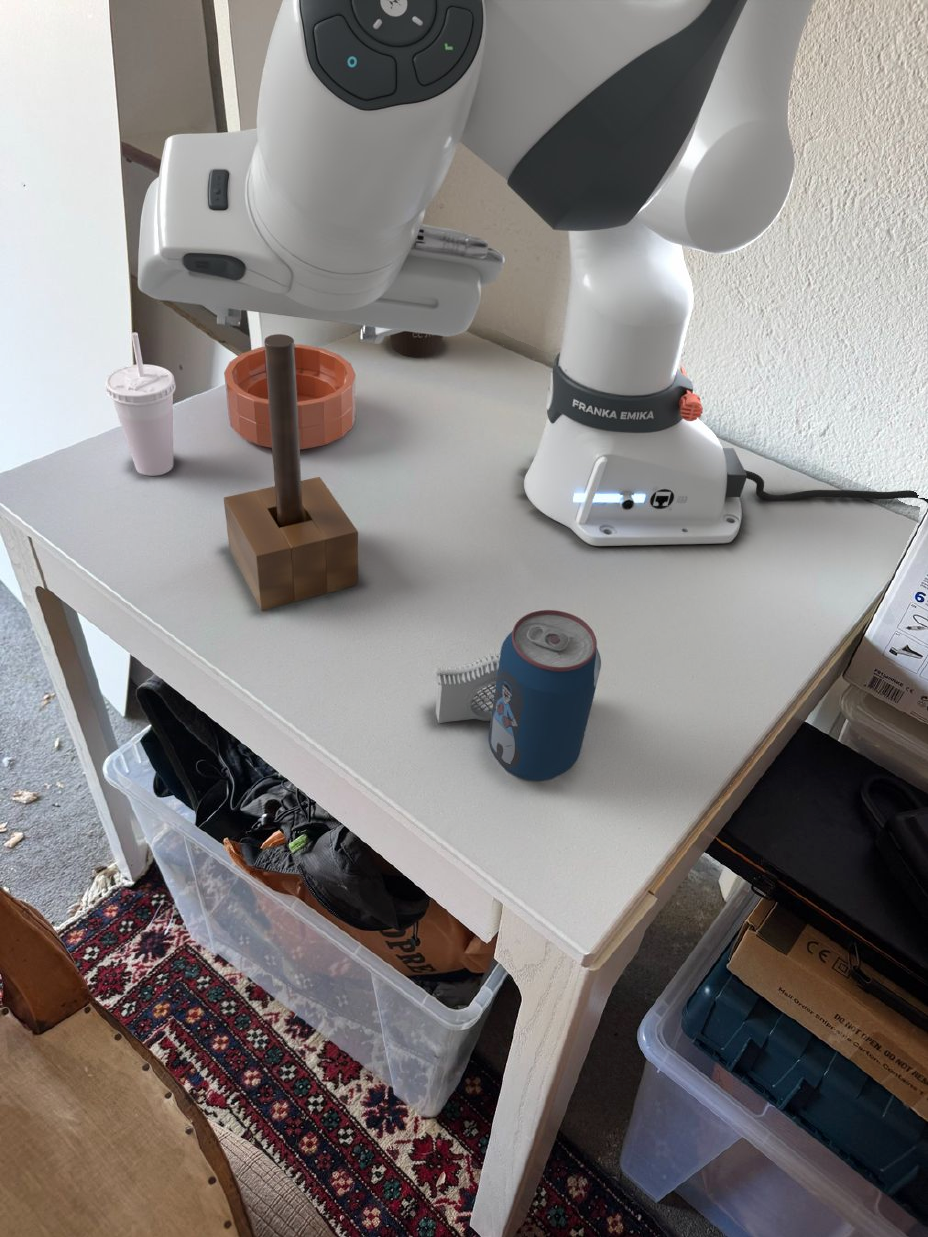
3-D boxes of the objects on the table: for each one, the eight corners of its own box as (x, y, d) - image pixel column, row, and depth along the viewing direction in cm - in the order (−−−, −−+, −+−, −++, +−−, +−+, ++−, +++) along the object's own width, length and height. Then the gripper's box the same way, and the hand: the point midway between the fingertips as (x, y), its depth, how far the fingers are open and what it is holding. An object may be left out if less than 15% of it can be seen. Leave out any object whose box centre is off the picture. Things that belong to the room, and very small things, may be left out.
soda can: (589, 738, 72) (619, 624, 64) (559, 803, 67) (587, 688, 59) (507, 706, 73) (525, 591, 65) (472, 767, 69) (487, 651, 61)
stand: (321, 529, 89) (319, 476, 85) (358, 584, 83) (358, 531, 79) (229, 551, 85) (223, 497, 81) (261, 611, 80) (256, 556, 76)
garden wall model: (576, 694, 75) (588, 642, 71) (582, 711, 74) (595, 658, 70) (430, 711, 72) (434, 657, 69) (435, 728, 71) (439, 674, 67)
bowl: (362, 398, 108) (363, 350, 104) (344, 462, 98) (343, 411, 94) (246, 386, 108) (242, 338, 104) (215, 449, 98) (209, 398, 94)
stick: (307, 561, 85) (296, 335, 70) (302, 576, 83) (290, 348, 69) (283, 559, 85) (267, 332, 70) (278, 574, 83) (261, 345, 69)
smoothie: (195, 452, 97) (178, 325, 87) (175, 486, 92) (154, 356, 83) (135, 445, 97) (111, 317, 88) (111, 479, 92) (83, 347, 83)
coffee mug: (387, 362, 115) (389, 283, 108) (378, 331, 121) (379, 254, 114) (478, 360, 117) (485, 282, 111) (464, 330, 123) (470, 254, 117)
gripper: (515, 195, 53) (449, 299, 66) (133, 128, 47) (145, 257, 60) (514, 302, 52) (448, 385, 65) (127, 247, 46) (141, 351, 59)
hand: (300, 323), depth 62 cm, fingers open, 8 cm apart
